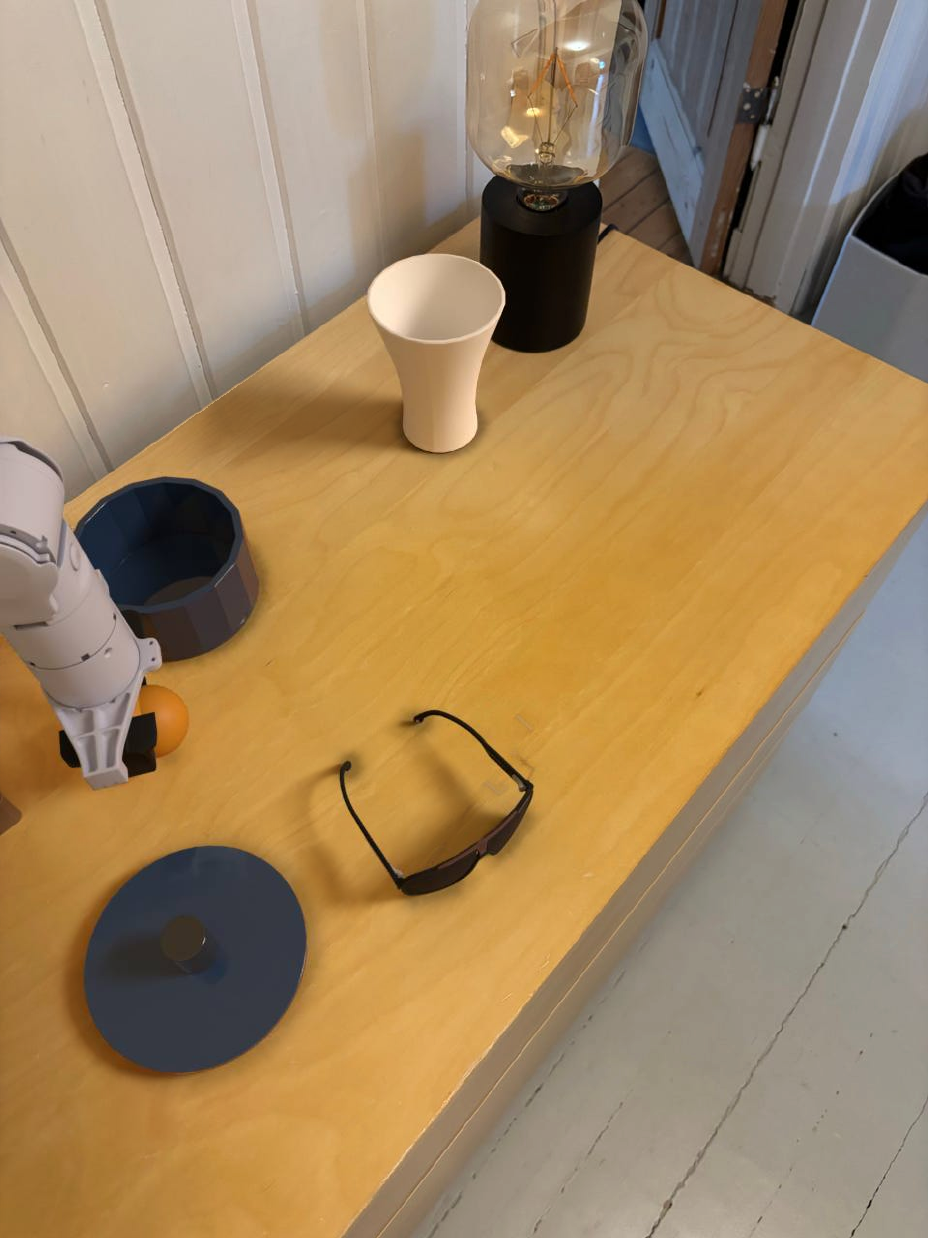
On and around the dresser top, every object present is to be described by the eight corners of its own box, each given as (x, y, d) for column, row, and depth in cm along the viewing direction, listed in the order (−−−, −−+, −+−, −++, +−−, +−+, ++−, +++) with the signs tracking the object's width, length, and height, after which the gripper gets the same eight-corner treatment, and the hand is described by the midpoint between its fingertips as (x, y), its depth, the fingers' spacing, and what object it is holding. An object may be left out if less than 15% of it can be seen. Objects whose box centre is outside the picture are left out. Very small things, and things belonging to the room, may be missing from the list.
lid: (98, 1107, 53) (71, 1097, 49) (82, 883, 60) (58, 861, 56) (328, 1035, 55) (319, 1021, 51) (287, 827, 62) (276, 802, 58)
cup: (507, 390, 84) (513, 259, 73) (491, 477, 78) (495, 349, 67) (392, 378, 85) (381, 247, 74) (369, 463, 79) (352, 335, 68)
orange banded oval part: (91, 788, 63) (64, 757, 59) (86, 725, 66) (60, 690, 62) (201, 760, 64) (182, 727, 60) (192, 698, 67) (173, 663, 63)
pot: (104, 679, 68) (72, 631, 62) (92, 550, 74) (63, 496, 69) (271, 639, 70) (255, 588, 64) (245, 517, 76) (228, 462, 71)
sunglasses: (419, 929, 58) (409, 896, 54) (321, 794, 64) (305, 757, 60) (551, 830, 61) (550, 793, 57) (444, 712, 68) (437, 672, 64)
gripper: (150, 718, 49) (210, 815, 61) (125, 513, 57) (182, 633, 68) (11, 753, 48) (99, 845, 59) (5, 540, 56) (83, 657, 67)
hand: (136, 734), depth 64 cm, fingers closed on orange banded oval part, 5 cm apart
